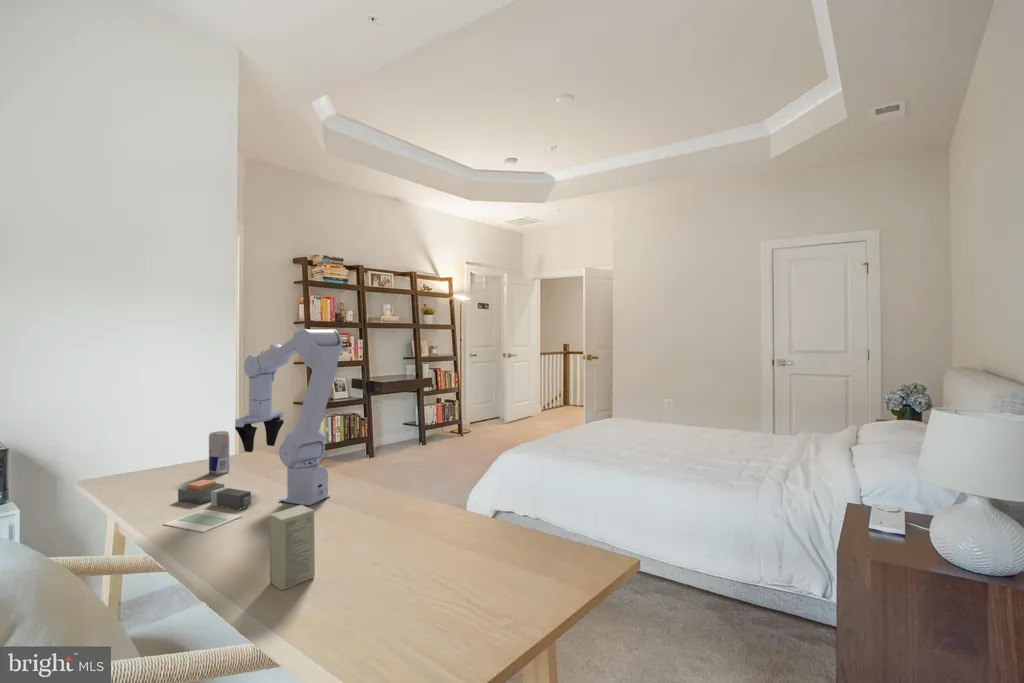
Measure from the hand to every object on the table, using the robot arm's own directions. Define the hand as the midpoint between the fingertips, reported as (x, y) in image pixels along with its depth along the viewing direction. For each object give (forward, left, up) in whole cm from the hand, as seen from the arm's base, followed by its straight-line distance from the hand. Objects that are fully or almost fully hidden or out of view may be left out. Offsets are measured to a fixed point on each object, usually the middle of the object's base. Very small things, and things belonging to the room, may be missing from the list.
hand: (260, 448), depth 143 cm
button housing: (+6, +13, -11) cm, 18 cm away
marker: (-5, +14, -11) cm, 18 cm away
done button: (+6, +13, -8) cm, 17 cm away
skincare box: (-47, +39, -11) cm, 62 cm away
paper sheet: (-8, +24, -11) cm, 27 cm away
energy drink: (+22, -6, -11) cm, 25 cm away
